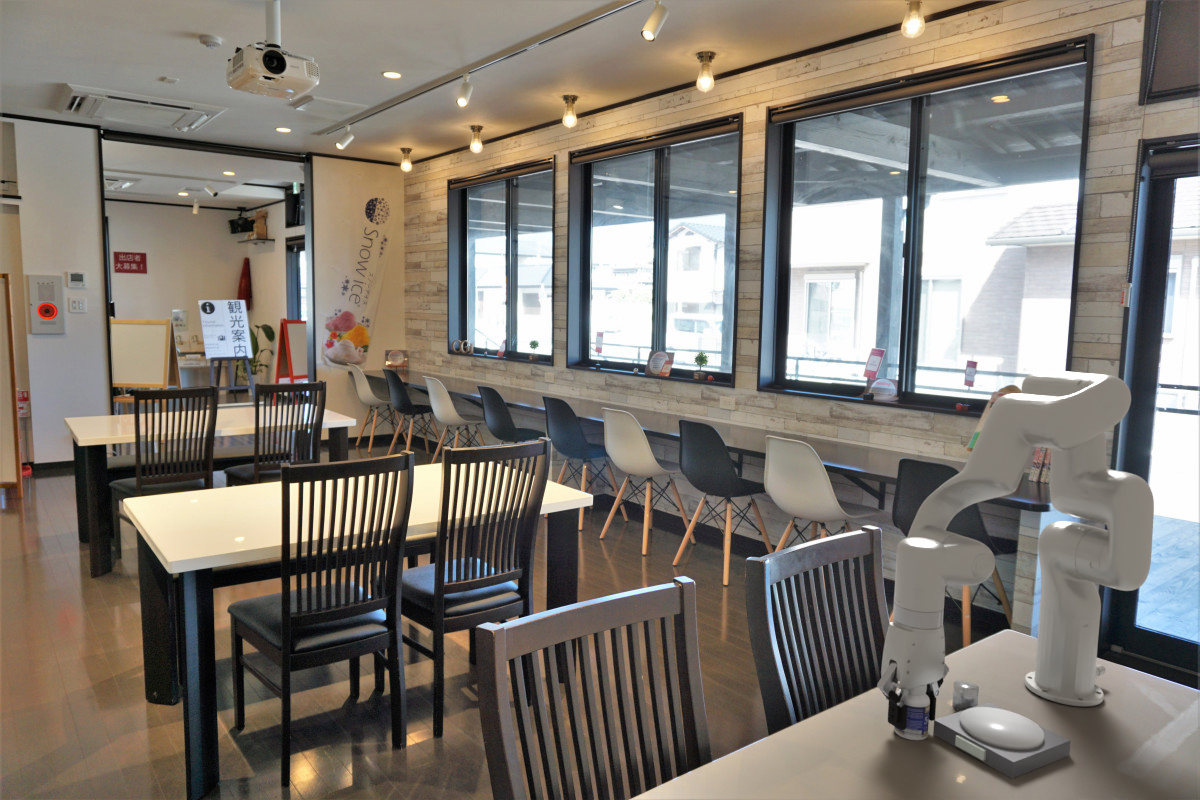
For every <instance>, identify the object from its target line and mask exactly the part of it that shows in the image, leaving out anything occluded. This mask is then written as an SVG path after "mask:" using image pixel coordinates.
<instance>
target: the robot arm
mask: <svg viewBox="0 0 1200 800" xmlns="http://www.w3.org/2000/svg"><path fill="white" fill-rule="evenodd" d="M1131 403H1132V394H1131V390H1130V387H1129V386H1128V385H1127V383H1126V382H1125V381H1124V380H1123V379H1121V378H1120V377H1118V376H1115V375H1110V374H1104V373H1103V374H1102V373H1091V372H1090V373H1089V372H1079V371H1077V372H1075V371H1068V370H1040V371H1039V370H1038V371H1034V372H1031V373H1029V374H1028V375H1027V376H1025V378H1024V379H1023V381H1022V383H1021V393H1015V392H1014V393H1007V394H1004V395H1002V396H1000V397H998V398H997V399H995V401H994V402H993V404H992V406H991V407H990V409H989V411H988V413H987V417H986V419H985V421H984V423H983V425H982V428H981V430H980V432H979V434H978V437H977V439H976V441H975V443H974V446H973V448H972V450H971V451H970V454H969V457H968V458H967V461H966V464H965V465H964V467H963V469H962V470H961V471H960V472H958V473H957V474H955V475H954V476H952V477H950V478H949V479H947V480H946V481H945V482H944V483H942V484H941V485H940V486H939V487H938V488H936V489H935V490H934V491H933V492H932V493H931V494H929V495H928V496H927V497H926V498H925V499H924V500H923V502H922V504H921V505H920V507H918V510H917V512H916V514H915V517H914V519H913V521H912V524H911V525H910V529H909V531H908V534H907V536H906V538H903V539H901V540H900V541H899V542H898V544H897V547H896V558H895V559H896V560H895V561H896V562H895V579H894V595H893V612H892V621H891V622H889V625H888V627H887V633H886V634H885V639H884V645H883V651H882V660H881V671H880V674H881V675H880V676H881V678H879V681H878V682H877V685H876V686H877V688H878V689H879V690H880V691H881V693H882V694H883V696H884V697H885V700H887V701H888V706H887V707H888V708H887V723H889V725H891V726H893V727H894V726H895V727H897V728H899V729H900V730H905V729H906V717H907V706H905V705H904V704H905V701H906V698H907V695H908V692H909V689H912V688H916V687H919V686H923V685H926V684H927V690H926V693H925V694H927V695H928V697H929V699H930V709H929V722H931V721H933V722H934V720H935V719H936V709H937V708H936V707H937V697H938V696H939V695H940V688H941V686H942V685H943V683H944V679H945V678H946V676H947V675H948V673H949V672H950V668H949V666H948V665H947V664H946V663H945V661H946V641H945V640H946V639H945V637H946V636H945V629H944V628H945V627H944V624H943V623H944V608H945V595H946V587H947V586H968V587H970V586H977V585H980V584H982V583H984V582H986V581H988V579H989V578H990V577H991V576H992V574H993V572H994V571H995V567H996V557H995V555H994V553H993V552H992V550H991V548H990V547H989V546H987V544H985V543H983V542H982V541H979V540H977V539H974V538H970V537H967V536H963V535H961V534H958V533H956V532H951V531H950V530H949V531H948V530H947V528H948V526H949V525H950V522H951V521H952V520H953V518H954V517H955V516H956V515H957V514H958V513H961V511H962V510H963V509H966V508H967V507H970V506H971V505H974V504H977V503H981V502H984V501H988V500H993V499H997V498H1000V497H1005V496H1009V495H1011V494H1013V493H1014V492H1015V491H1016V490H1018V487H1019V484H1020V482H1021V480H1022V478H1023V475H1024V473H1025V471H1026V468H1027V466H1028V464H1029V461H1030V459H1031V456H1033V454H1034V453H1033V452H1034V450H1035V449H1036V448H1037V447H1039V448H1045V449H1050V468H1049V469H1050V471H1049V473H1050V474H1049V498H1050V503H1051V505H1052V507H1053V508H1054V509H1055V510H1056V511H1058V512H1060V513H1062V514H1065V515H1067V516H1070V517H1075V518H1078V519H1083V520H1086V521H1091V522H1094V523H1098V524H1104V525H1106V528H1107V529H1105V528H1100V527H1097V526H1094V525H1089V524H1085V523H1081V522H1078V521H1077V522H1076V521H1069V520H1060V521H1059V520H1057V521H1055V522H1051V523H1049V524H1048V525H1046V526H1045V527H1044V528H1043V530H1041V532H1040V535H1039V537H1038V542H1037V552H1038V559H1039V560H1038V561H1039V565H1040V577H1041V581H1040V583H1041V584H1040V585H1041V587H1040V599H1039V602H1040V603H1039V611H1038V626H1037V636H1036V637H1037V639H1036V649H1035V651H1036V652H1035V665H1034V666H1035V667H1034V671H1030V672H1027V673H1026V674H1025V676H1024V685H1025V687H1026V688H1027V689H1028V690H1030V691H1031V692H1032V693H1034V694H1035V695H1037V696H1040V697H1041V698H1043V699H1046V700H1048V701H1051V702H1054V703H1058V704H1062V705H1065V706H1066V705H1067V706H1073V707H1094V706H1098V705H1100V704H1102V702H1103V701H1104V692H1103V690H1102V689H1101V688H1100V687H1099V686H1098V685H1097V684H1095V681H1096V679H1097V677H1099V676H1102V675H1105V674H1106V672H1107V671H1106V667H1105V666H1104V665H1103V664H1100V663H1099V664H1098V663H1097V657H1098V645H1099V644H1098V643H1099V634H1100V621H1101V611H1102V601H1101V597H1100V594H1099V591H1098V588H1097V586H1096V584H1097V585H1100V586H1103V587H1108V588H1111V589H1115V590H1118V591H1124V592H1130V591H1135V590H1137V589H1139V588H1140V587H1141V586H1143V585H1144V583H1145V582H1146V580H1147V579H1148V576H1149V573H1150V569H1151V563H1152V551H1153V549H1152V548H1153V532H1154V518H1155V517H1154V513H1155V510H1154V509H1155V507H1154V506H1155V501H1154V500H1155V499H1154V496H1153V491H1152V489H1151V487H1150V485H1149V484H1148V483H1147V481H1146V480H1145V479H1144V478H1142V477H1141V476H1139V475H1137V474H1134V473H1131V472H1128V471H1122V470H1114V469H1110V468H1109V466H1108V463H1107V438H1106V434H1105V432H1106V431H1108V430H1110V429H1111V428H1114V427H1115V426H1116V425H1117V424H1119V423H1120V422H1121V421H1122V420H1123V419H1124V418H1125V416H1126V415H1127V413H1128V411H1129V410H1130V407H1131ZM897 688H898V690H900V689H901V691H900V694H899V696H898V695H897V694H896V693H897Z"/></svg>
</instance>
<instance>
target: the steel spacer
mask: <svg viewBox="0 0 1200 800" xmlns="http://www.w3.org/2000/svg"><path fill="white" fill-rule="evenodd" d="M952 687H953V690H952V691H953V692H952V701H951V702H952V704H951V705H952V707H953V708H954V709H955V710H957V711H958V712H960V711H963V710H966V709H969V708H973V707H976V706H979V703H978V702H979V689H980V688H979V687H980V686H979V685H977V684H976V683H973V682H972V681H967V680H956V681H954V682H953V686H952Z"/></svg>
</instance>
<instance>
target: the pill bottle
mask: <svg viewBox="0 0 1200 800" xmlns="http://www.w3.org/2000/svg"><path fill="white" fill-rule="evenodd" d="M926 690H927V684H926V685H923V686H919V687H916V688H912V689H909V692H908V695H907V698H906V701H905V704H904V705H905V706H907V717H906V729H905V730H900V729H899V728H897V727H895V726H893V731H894V732H895V733H896V734H897V735H898V736H899V737H901V738H903V739H905V740H909V741H922V740H925V739H927V738H928V735H929V723H930V720H929V709H930V699H929V697H928V695H927V694H925V693H926ZM900 691H901V689H898V690H896V694H897V695H898V696H899V694H900Z"/></svg>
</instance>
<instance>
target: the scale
mask: <svg viewBox="0 0 1200 800" xmlns="http://www.w3.org/2000/svg"><path fill="white" fill-rule="evenodd" d="M932 735H934V736H935V737H937V738H939V739H941V740H943V741H945V742H946V743H948V744H950V745H951V746H954V747H955V748H957V749H959V750H960V751H962V752H964V753H966V754H968V755H969V756H972V757H973V758H976V759H977V760H978V761H981V762H982V763H983V764H986V765H988V766H990V767H991V768H994V769H995V770H997V771H999V772H1000V773H1002V774H1004V775H1005V776H1008V777H1009V778H1011V779H1014V778H1017V777H1019V776H1022V775H1024V774H1027V773H1029V772H1032V771H1035V770H1037V769H1039V768H1041V767H1044V766H1047V765H1049V764H1051V763H1055V762H1057V761H1060V760H1062V759H1065V758H1067V757H1070V752H1071V751H1070V750H1071V739H1068V738H1066V737H1064V736H1063V735H1060V734H1058V733H1056V732H1054V731H1052V730H1050V729H1048V728H1045V727H1043V726H1041V725H1039V724H1037V723H1036V722H1035V721H1033V720H1031V719H1029V718H1028V717H1026V716H1023V715H1022V714H1019V713H1017V712H1013V711H1010V710H1008V709H1006V708H1003V707H1001V706H999V705H998V704H995V703H993V702H991V701H989V702H986V703H982V704H980V705H979V704H978V706H976V707H973V708H969V709H966V710H963V711H958V712H955V713H954V712H953V713H951V714H948V715H945V716H941V717H939V718H935V720H933V734H932Z"/></svg>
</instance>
